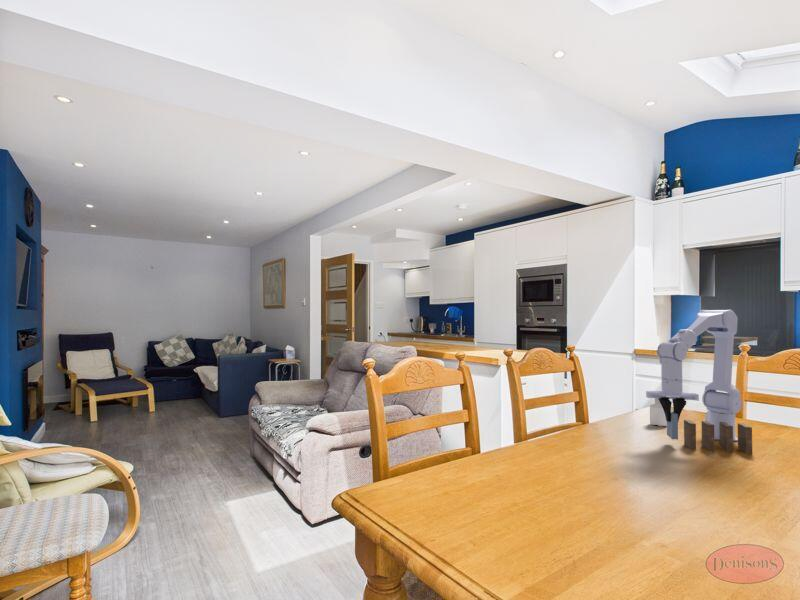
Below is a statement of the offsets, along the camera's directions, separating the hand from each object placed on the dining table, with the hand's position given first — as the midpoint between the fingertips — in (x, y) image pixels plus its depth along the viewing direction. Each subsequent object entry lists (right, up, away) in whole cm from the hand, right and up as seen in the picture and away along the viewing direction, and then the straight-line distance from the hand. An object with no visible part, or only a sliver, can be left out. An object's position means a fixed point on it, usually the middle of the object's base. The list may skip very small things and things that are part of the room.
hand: (672, 421), depth 138 cm
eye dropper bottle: (+11, -9, +25) cm, 28 cm away
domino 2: (+5, -8, -1) cm, 9 cm away
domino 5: (+19, -8, -5) cm, 21 cm away
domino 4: (+15, -8, -4) cm, 17 cm away
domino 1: (0, -5, 0) cm, 5 cm away
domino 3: (+10, -8, -3) cm, 13 cm away
